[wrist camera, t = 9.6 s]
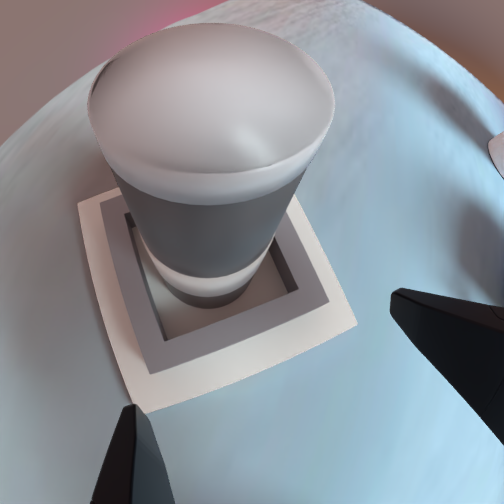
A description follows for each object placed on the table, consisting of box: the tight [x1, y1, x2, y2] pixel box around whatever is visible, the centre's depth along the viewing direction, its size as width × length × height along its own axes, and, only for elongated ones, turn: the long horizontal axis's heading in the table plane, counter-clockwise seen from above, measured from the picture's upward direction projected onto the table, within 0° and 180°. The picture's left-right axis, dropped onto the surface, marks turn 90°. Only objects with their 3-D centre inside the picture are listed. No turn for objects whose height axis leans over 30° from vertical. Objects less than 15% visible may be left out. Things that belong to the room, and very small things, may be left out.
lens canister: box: [87, 23, 335, 309], centre depth 12 cm, size 6×6×13 cm
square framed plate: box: [77, 187, 358, 414], centre depth 18 cm, size 14×14×3 cm
